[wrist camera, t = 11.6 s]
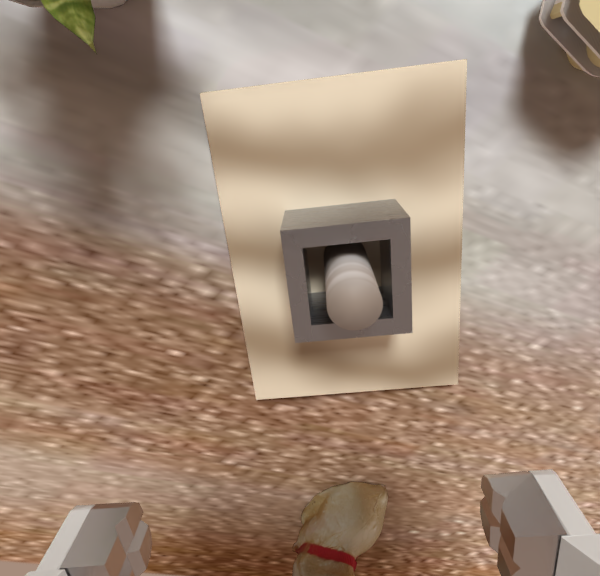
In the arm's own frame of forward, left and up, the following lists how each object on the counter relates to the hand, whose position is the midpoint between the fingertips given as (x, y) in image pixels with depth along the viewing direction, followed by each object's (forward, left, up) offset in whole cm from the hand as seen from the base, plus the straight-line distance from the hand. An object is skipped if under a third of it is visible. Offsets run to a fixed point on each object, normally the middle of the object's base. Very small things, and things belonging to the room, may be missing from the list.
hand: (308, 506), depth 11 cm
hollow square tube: (0, +2, -18) cm, 18 cm away
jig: (0, +2, -19) cm, 19 cm away
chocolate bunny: (+22, 0, -19) cm, 29 cm away
